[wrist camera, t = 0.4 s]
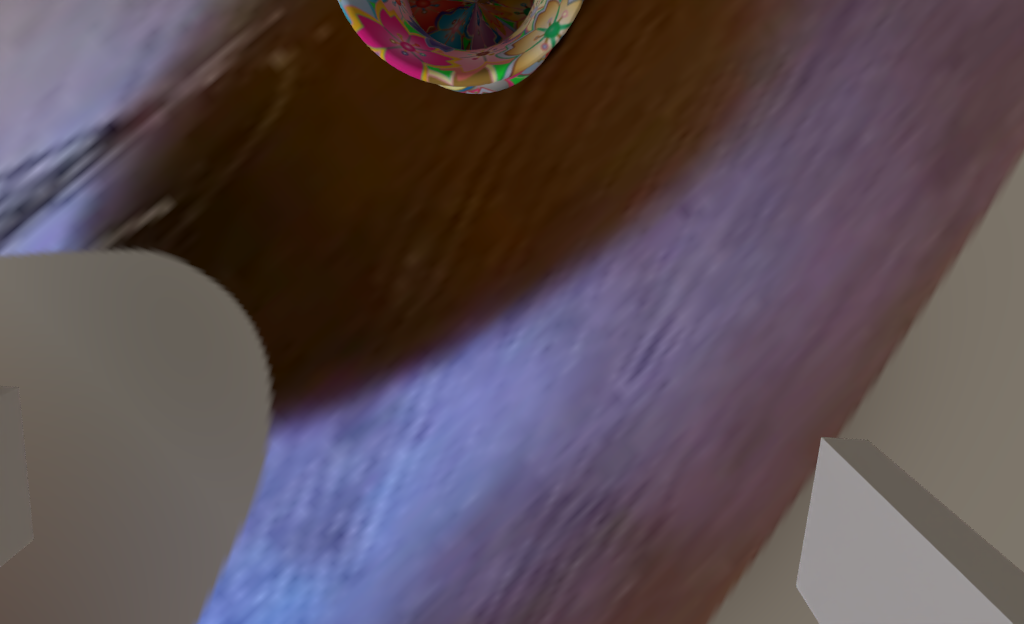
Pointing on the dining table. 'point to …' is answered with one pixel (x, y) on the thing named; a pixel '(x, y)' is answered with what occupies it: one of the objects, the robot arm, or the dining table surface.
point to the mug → (463, 38)
